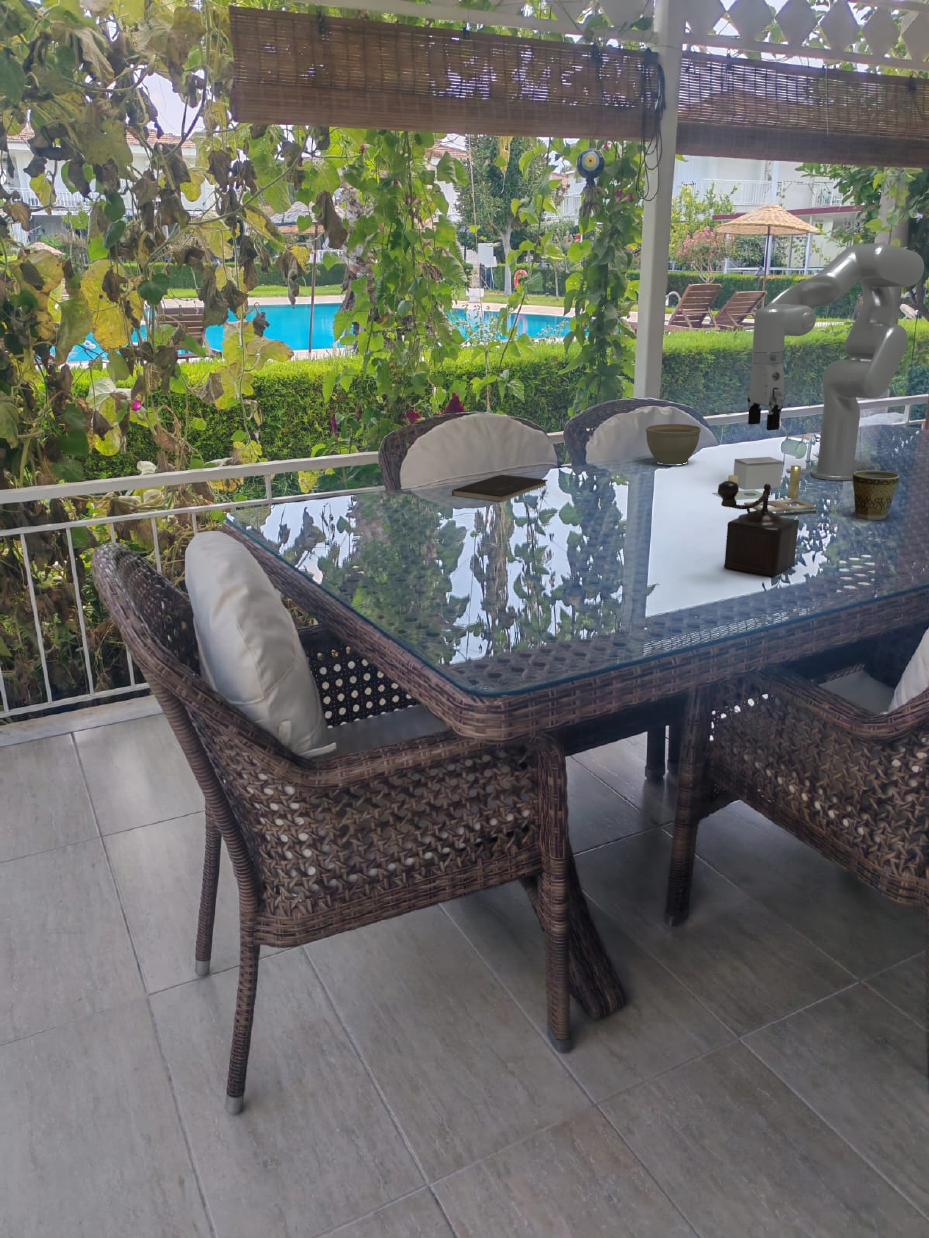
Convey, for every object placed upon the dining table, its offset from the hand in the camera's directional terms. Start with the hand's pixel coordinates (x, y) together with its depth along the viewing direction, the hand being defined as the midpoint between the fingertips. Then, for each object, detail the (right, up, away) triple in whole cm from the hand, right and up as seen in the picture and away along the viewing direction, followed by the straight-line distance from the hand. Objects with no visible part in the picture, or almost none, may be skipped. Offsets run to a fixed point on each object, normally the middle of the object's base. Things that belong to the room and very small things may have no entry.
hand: (763, 426), depth 244 cm
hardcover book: (-68, -16, +12) cm, 71 cm away
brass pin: (+5, -21, -8) cm, 23 cm away
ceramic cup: (+18, -26, -22) cm, 38 cm away
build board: (-1, -24, -17) cm, 29 cm away
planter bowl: (-14, -3, +43) cm, 46 cm away
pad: (-7, -20, -5) cm, 21 cm away
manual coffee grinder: (-21, -41, -61) cm, 76 cm away
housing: (0, -16, +5) cm, 17 cm away
